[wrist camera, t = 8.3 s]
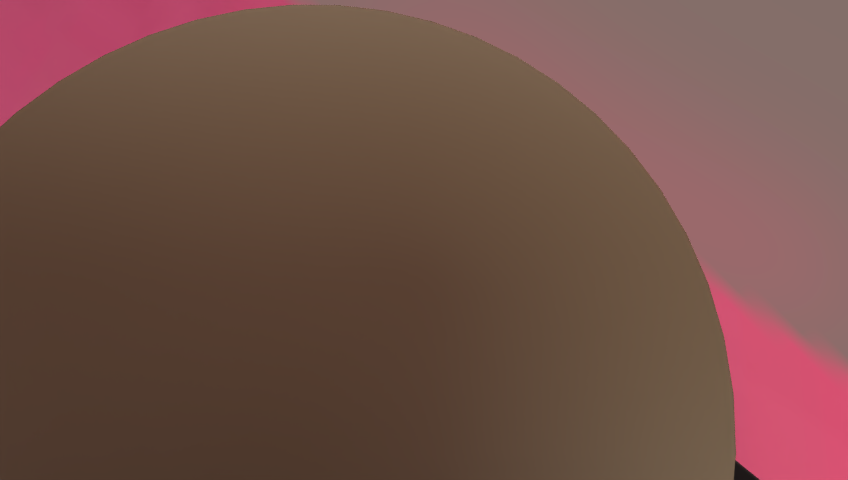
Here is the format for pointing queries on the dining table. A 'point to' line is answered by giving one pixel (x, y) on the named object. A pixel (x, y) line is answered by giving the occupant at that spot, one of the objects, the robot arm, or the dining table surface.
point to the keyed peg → (343, 269)
